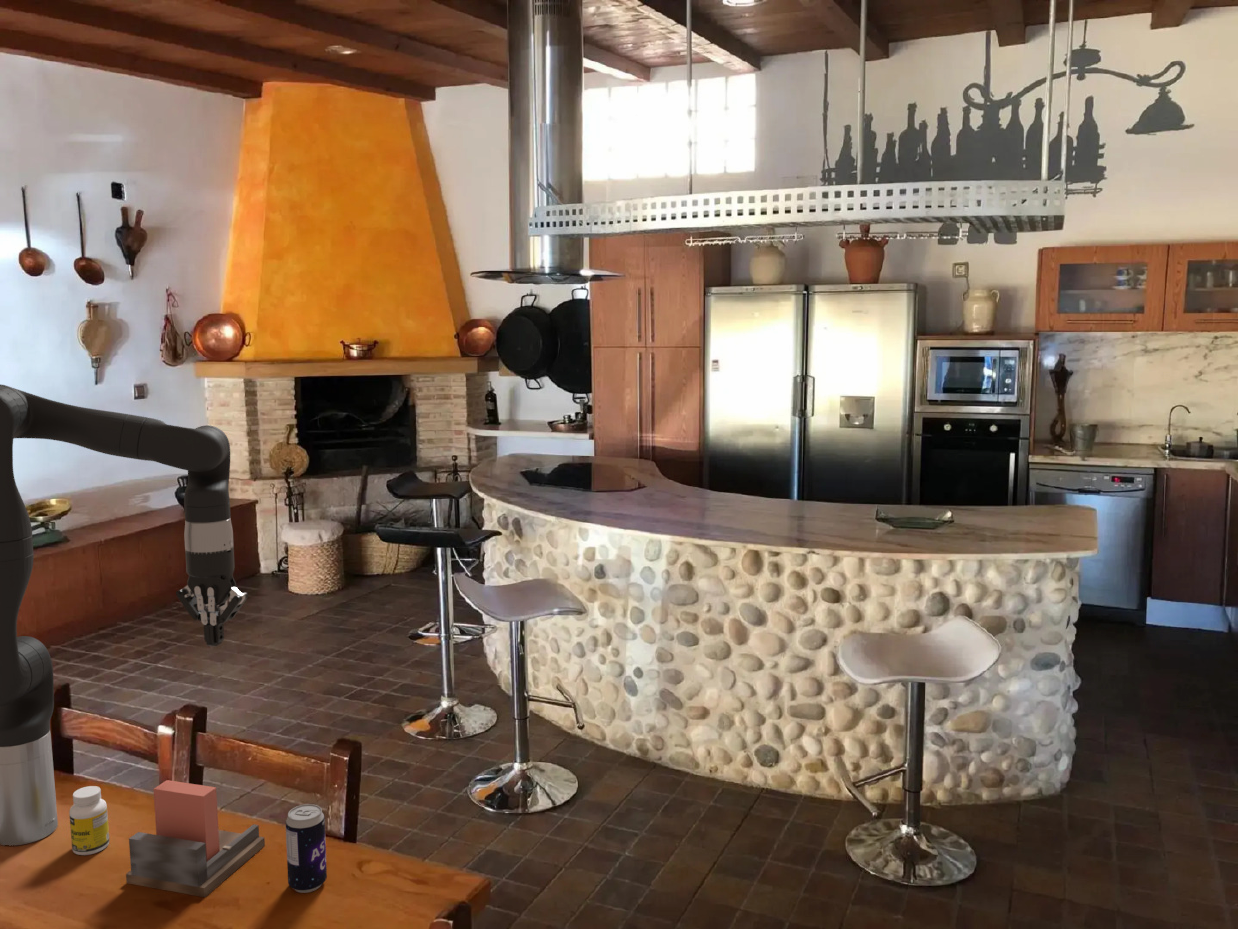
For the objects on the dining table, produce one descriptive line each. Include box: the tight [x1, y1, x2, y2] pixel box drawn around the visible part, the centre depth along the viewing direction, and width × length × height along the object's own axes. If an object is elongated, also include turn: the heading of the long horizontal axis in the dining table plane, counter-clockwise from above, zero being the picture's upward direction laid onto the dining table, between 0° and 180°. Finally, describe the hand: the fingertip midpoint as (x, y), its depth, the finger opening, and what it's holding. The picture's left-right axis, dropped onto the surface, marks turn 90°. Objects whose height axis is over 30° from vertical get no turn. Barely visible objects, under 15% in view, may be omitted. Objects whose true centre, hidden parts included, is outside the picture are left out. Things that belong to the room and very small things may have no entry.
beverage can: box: [285, 803, 328, 894], centre depth 149 cm, size 6×6×12 cm
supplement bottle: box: [68, 785, 110, 856], centre depth 159 cm, size 5×5×10 cm
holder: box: [125, 824, 266, 898], centre depth 154 cm, size 14×15×8 cm
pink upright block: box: [152, 779, 220, 862], centre depth 152 cm, size 9×3×12 cm, turn 76°
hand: (214, 644), depth 166 cm, fingers closed
